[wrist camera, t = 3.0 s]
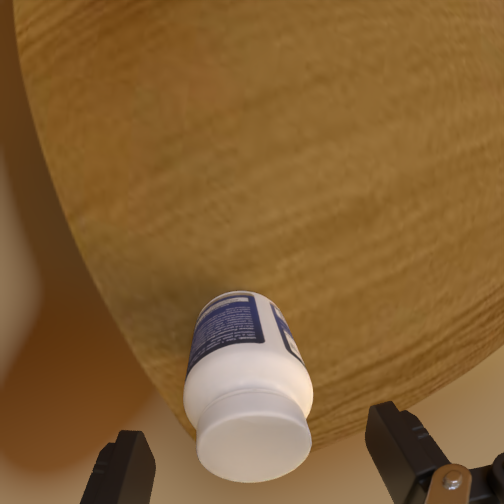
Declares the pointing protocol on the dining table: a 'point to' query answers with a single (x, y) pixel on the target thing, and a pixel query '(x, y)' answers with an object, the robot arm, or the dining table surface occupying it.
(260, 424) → the pill bottle
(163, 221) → the dining table surface
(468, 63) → the dining table surface
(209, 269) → the dining table surface
